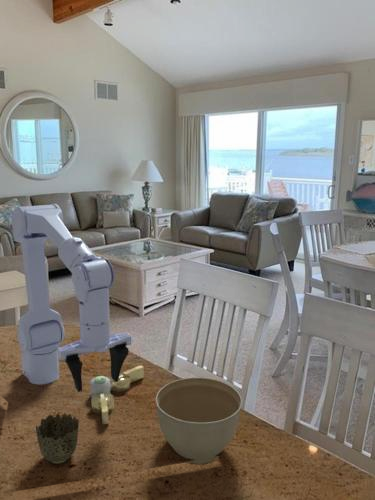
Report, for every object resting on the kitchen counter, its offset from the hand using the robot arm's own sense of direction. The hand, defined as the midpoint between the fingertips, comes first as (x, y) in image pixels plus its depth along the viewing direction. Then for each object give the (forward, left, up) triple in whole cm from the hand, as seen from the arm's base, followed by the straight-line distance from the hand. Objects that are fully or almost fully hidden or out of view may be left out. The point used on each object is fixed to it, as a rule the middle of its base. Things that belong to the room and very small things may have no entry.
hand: (97, 384), depth 93 cm
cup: (+4, -11, -10) cm, 16 cm away
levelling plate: (-9, +7, -10) cm, 15 cm away
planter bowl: (+19, +10, -10) cm, 24 cm away
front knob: (-2, +3, -9) cm, 9 cm away
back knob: (-9, +14, -9) cm, 19 cm away
